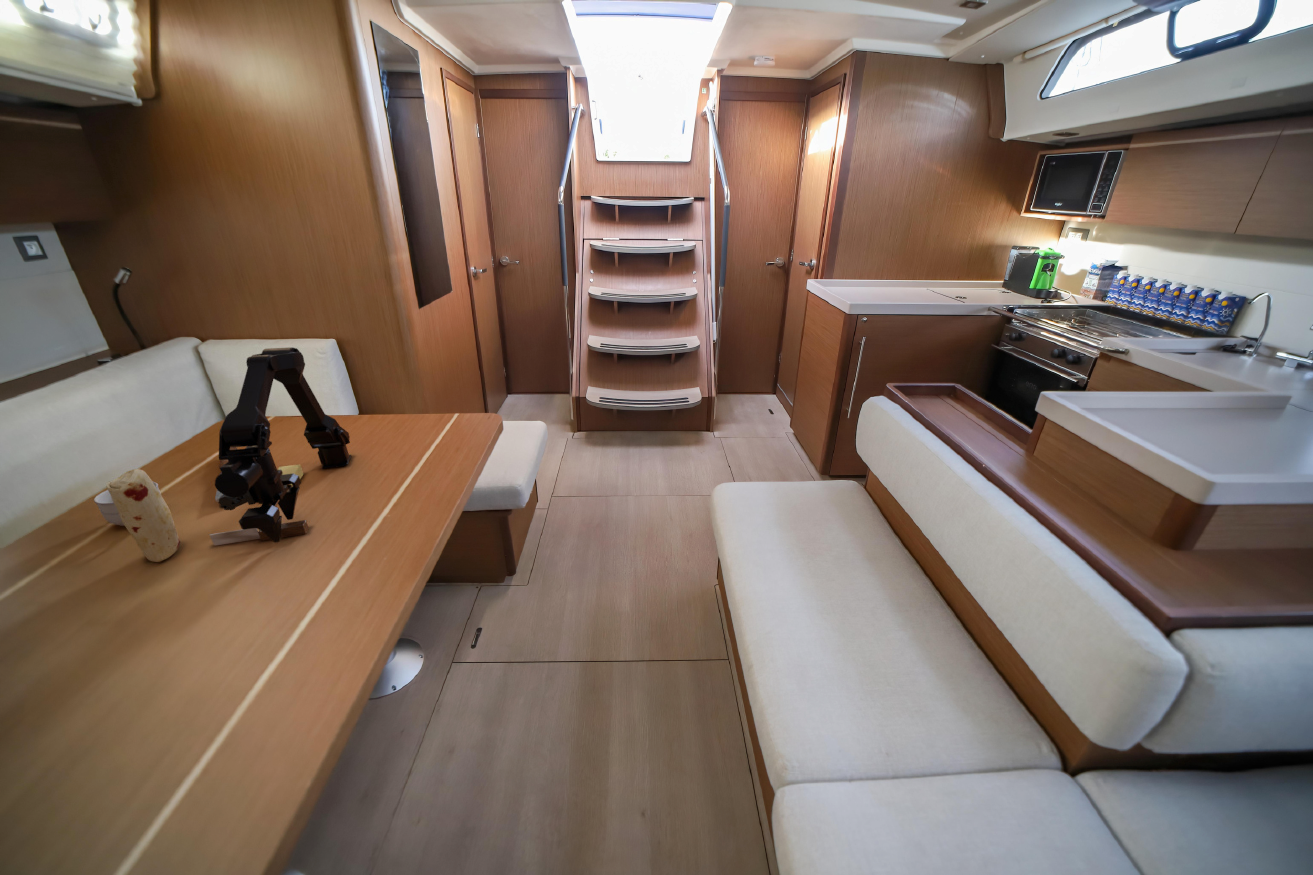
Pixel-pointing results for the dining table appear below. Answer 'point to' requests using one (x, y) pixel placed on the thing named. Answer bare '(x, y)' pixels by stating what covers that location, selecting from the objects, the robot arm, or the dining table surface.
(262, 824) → the dining table surface
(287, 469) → the butter block
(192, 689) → the dining table surface
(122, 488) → the food model
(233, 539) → the knife
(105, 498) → the teacup
